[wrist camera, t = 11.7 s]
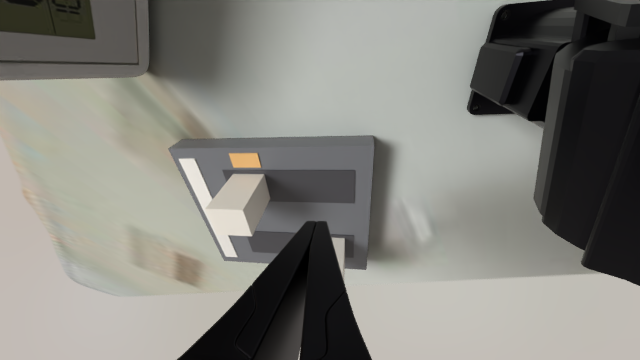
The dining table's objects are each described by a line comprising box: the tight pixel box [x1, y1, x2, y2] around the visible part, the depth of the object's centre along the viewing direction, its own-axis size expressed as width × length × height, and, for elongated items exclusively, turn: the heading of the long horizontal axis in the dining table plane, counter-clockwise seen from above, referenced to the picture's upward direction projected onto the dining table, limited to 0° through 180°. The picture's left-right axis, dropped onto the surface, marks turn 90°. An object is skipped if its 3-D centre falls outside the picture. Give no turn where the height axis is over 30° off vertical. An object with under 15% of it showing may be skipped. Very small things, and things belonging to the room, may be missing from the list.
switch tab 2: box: [332, 238, 345, 280], centre depth 23 cm, size 3×3×5 cm
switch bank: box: [169, 136, 374, 270], centre depth 24 cm, size 18×16×2 cm
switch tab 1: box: [205, 174, 270, 236], centre depth 19 cm, size 3×3×5 cm
